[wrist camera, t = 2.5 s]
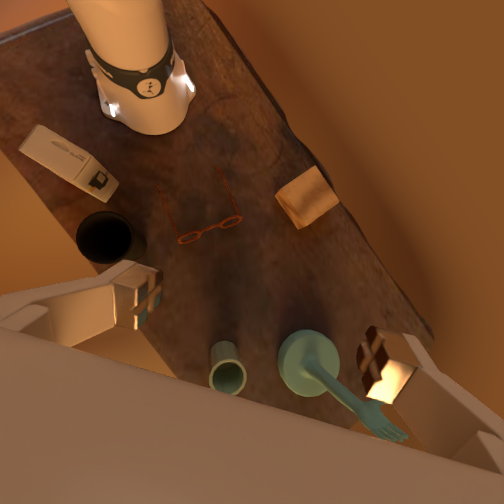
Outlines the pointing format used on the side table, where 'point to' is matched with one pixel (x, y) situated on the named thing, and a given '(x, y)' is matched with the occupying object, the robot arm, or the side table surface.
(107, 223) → the cup
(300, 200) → the block
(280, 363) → the mug tree
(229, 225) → the glasses
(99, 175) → the ink box
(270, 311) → the side table surface
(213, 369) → the tumbler
